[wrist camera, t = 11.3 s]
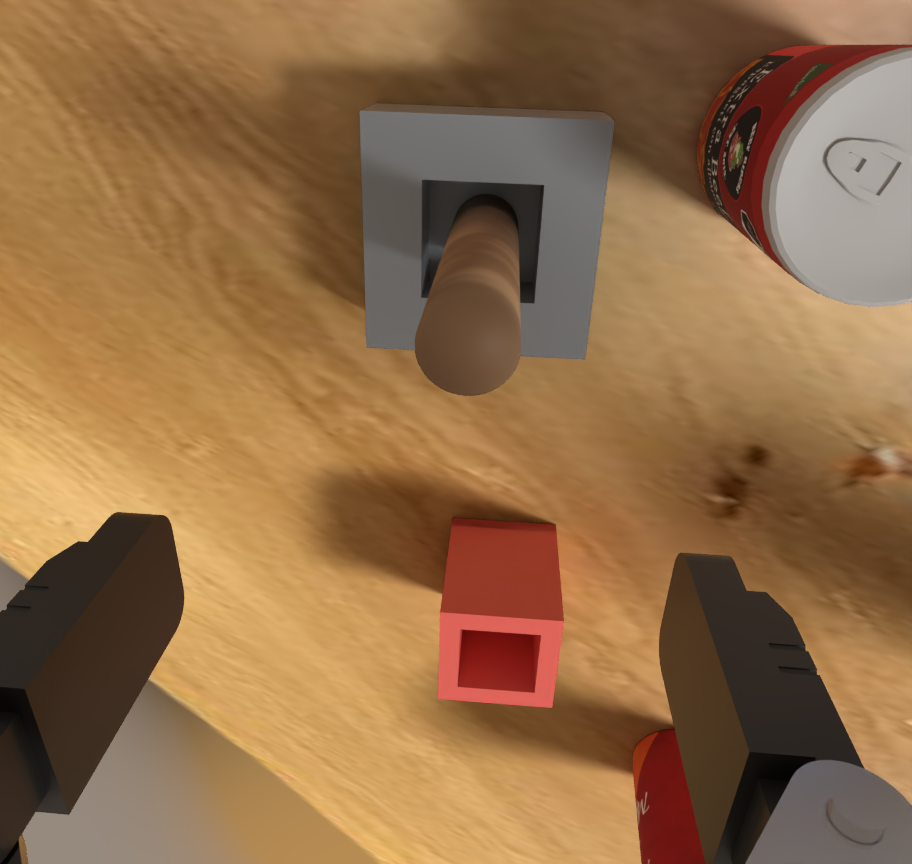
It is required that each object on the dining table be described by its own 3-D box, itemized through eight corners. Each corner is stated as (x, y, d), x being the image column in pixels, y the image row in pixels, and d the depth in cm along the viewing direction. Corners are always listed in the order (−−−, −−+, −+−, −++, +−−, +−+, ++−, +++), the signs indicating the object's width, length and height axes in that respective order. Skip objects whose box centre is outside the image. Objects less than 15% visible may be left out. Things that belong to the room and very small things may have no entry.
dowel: (520, 195, 33) (525, 298, 20) (516, 261, 34) (517, 398, 21) (454, 192, 33) (414, 292, 20) (452, 257, 34) (414, 392, 21)
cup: (555, 524, 42) (563, 621, 35) (546, 603, 45) (552, 707, 38) (452, 517, 42) (440, 612, 35) (449, 596, 45) (437, 698, 38)
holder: (603, 111, 32) (614, 120, 28) (578, 328, 36) (585, 359, 33) (376, 103, 32) (359, 110, 29) (380, 318, 37) (366, 347, 33)
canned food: (719, 32, 30) (817, 27, 20) (912, 58, 30) (1101, 67, 20) (671, 219, 34) (734, 291, 24) (842, 243, 34) (974, 324, 24)
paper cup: (594, 750, 51) (619, 975, 39) (685, 701, 48) (744, 927, 36) (662, 806, 53) (706, 1035, 41) (753, 762, 50) (830, 995, 38)
